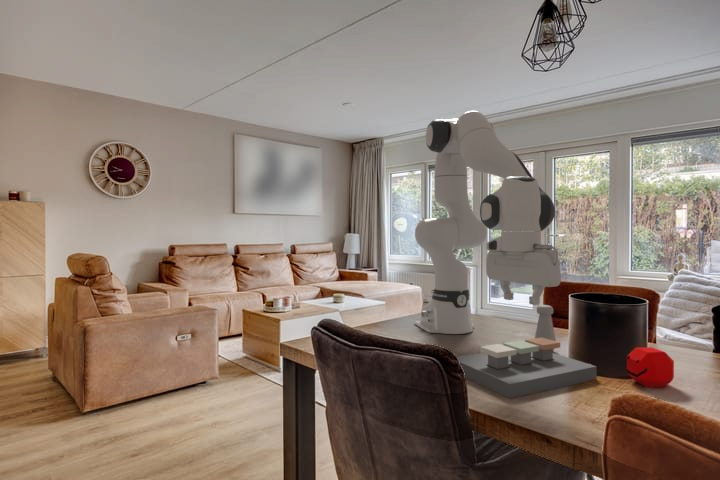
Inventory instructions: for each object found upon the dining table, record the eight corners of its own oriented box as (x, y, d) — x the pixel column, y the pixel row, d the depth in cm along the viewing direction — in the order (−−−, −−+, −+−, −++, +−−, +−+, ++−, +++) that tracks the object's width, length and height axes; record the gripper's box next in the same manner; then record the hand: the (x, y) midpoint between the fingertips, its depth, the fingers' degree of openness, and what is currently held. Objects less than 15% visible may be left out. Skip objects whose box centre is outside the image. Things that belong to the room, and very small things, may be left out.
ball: (620, 378, 99) (620, 345, 99) (653, 377, 99) (653, 344, 99) (646, 391, 91) (646, 355, 91) (681, 389, 91) (681, 354, 91)
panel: (450, 370, 106) (450, 358, 106) (529, 356, 116) (529, 345, 116) (509, 398, 88) (509, 384, 88) (596, 379, 98) (596, 366, 98)
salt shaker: (558, 354, 118) (558, 307, 118) (536, 353, 119) (536, 307, 119) (553, 348, 124) (553, 304, 124) (532, 347, 125) (532, 303, 125)
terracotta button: (525, 356, 106) (525, 339, 106) (541, 353, 109) (541, 337, 108) (543, 362, 101) (543, 345, 101) (560, 359, 103) (560, 342, 103)
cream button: (480, 364, 100) (480, 346, 100) (498, 361, 103) (498, 343, 103) (497, 371, 95) (497, 352, 95) (516, 367, 98) (516, 349, 98)
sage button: (503, 360, 103) (503, 343, 103) (520, 357, 106) (520, 340, 106) (520, 367, 98) (520, 348, 98) (538, 363, 101) (538, 345, 100)
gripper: (567, 244, 93) (567, 307, 93) (500, 242, 112) (501, 295, 112) (546, 245, 91) (546, 310, 91) (481, 243, 109) (482, 297, 109)
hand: (521, 301), depth 102 cm, fingers open, 7 cm apart
